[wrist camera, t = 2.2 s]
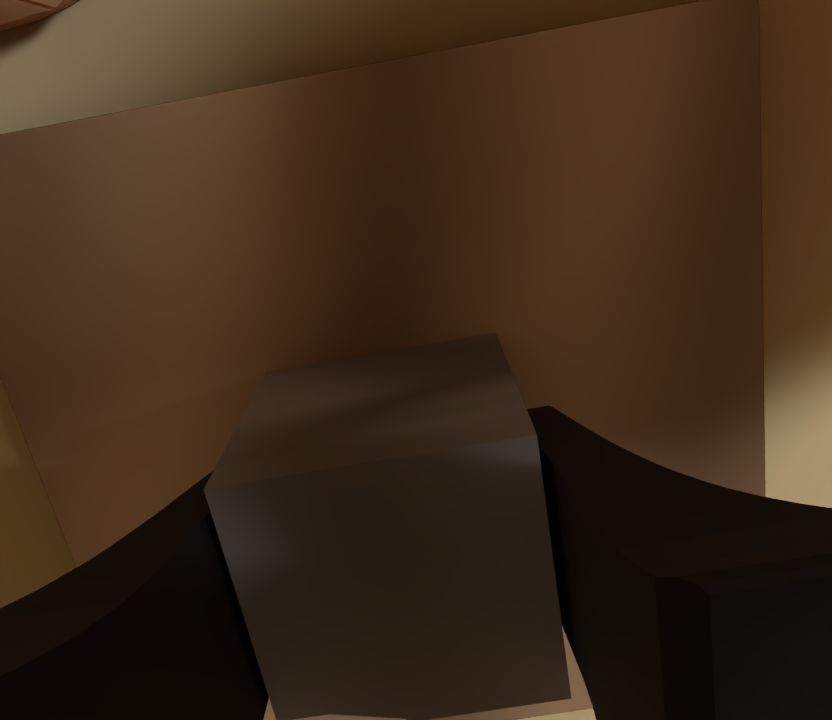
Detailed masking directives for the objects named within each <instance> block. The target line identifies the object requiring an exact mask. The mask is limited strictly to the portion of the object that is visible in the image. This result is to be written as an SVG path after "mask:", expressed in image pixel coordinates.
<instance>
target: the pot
mask: <svg viewBox="0 0 832 720" xmlns="http://www.w3.org/2000/svg"><path fill="white" fill-rule="evenodd" d="M77 1H78V0H0V31H4V30H7V29H11V28H14V27H18V26H22V25H25V24H29V23H32V22H36V21H38V20H40V19H42V18H44V17H47V16H49V15H51V14H53V13H55V12H57V11H60V10H62V9H64V8H66V7H68V6H71V5H72V4H74V3H75V2H77Z"/></svg>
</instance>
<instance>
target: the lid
mask: <svg viewBox="0 0 832 720" xmlns="http://www.w3.org/2000/svg"><path fill="white" fill-rule="evenodd" d="M0 378H1V380H2V383H3V385H4V388H5V390H6V393H7V395H8V398H9V400H10V403H11V405H12V408H13V410H14V413H15V415H16V418H17V420H18V423H19V425H20V428H21V430H22V433H23V435H24V438H25V440H26V443H27V445H28V448H29V450H30V453H31V455H32V458H33V460H34V463H35V465H36V468H37V470H38V473H39V475H40V478H41V480H42V483H43V485H44V488H45V490H46V493H47V495H48V498H49V500H50V503H51V505H52V508H53V510H54V513H55V515H56V518H57V520H58V523H59V525H60V528H61V530H62V533H63V535H64V538H65V540H66V543H67V545H68V548H69V550H70V553H71V555H72V558H73V560H74V563H75V565H76V568H77V567H79V566H80V565H82V564H84V563H85V562H87V561H88V560H90V559H92V558H93V557H95V556H96V555H98V554H99V553H101V552H102V551H104V550H106V549H107V548H109V547H110V546H111V545H113V544H114V543H116V542H117V541H119V540H120V539H121V538H123V537H124V536H126V535H127V534H128V533H130V532H131V531H133V530H134V529H135V528H137V527H138V526H140V525H141V524H143V523H144V522H145V521H147V520H148V519H150V518H151V517H152V516H154V515H155V514H157V513H158V512H159V511H161V510H162V509H163V508H164V507H166V506H167V505H168V504H170V503H171V502H172V501H174V500H175V499H176V498H178V497H179V496H180V495H181V494H183V493H184V492H185V491H187V490H188V489H189V488H191V487H192V486H193V485H194V484H196V483H197V482H198V481H200V480H201V479H202V478H204V477H205V476H206V475H208V474H209V473H210V472H212V471H213V470H214V471H213V473H212V474H211V476H210V478H209V480H208V482H207V484H206V486H205V488H204V492H205V496H206V499H207V502H208V505H209V508H210V512H211V515H212V518H213V521H214V524H215V527H216V531H217V534H218V537H219V540H220V543H221V547H222V550H223V553H224V556H225V559H226V562H227V566H228V569H229V572H230V575H231V578H232V581H233V585H234V588H235V591H236V594H237V597H238V601H239V604H240V607H241V610H242V613H243V616H244V620H245V623H246V626H247V629H248V632H249V635H250V639H251V642H252V645H253V648H254V651H255V655H256V658H257V661H258V664H259V667H260V670H261V674H262V677H263V680H264V683H265V686H266V690H267V693H268V696H269V700H268V704H267V707H266V711H265V715H264V719H263V720H294V719H301V718H308V717H315V716H321V715H328V714H338V715H355V716H373V717H391V718H403V719H407V720H516V719H522V718H529V717H536V716H543V715H550V714H557V713H563V712H570V711H577V710H584V709H591V708H593V706H592V703H591V700H590V697H589V694H588V691H587V688H586V686H585V683H584V680H583V677H582V675H581V672H580V670H579V667H578V665H577V662H576V660H575V657H574V654H573V652H572V649H571V647H570V644H569V642H568V639H567V637H566V634H565V632H564V629H563V627H562V622H561V615H560V607H559V599H558V592H557V584H556V577H555V569H554V561H553V554H552V546H551V538H550V531H549V523H548V516H547V508H546V500H545V493H544V485H543V478H542V470H541V462H540V455H539V447H538V440H537V434H536V431H535V429H534V426H533V424H532V421H531V419H530V416H529V414H528V411H527V409H531V408H537V407H543V406H551V407H553V408H555V409H557V410H558V411H560V412H561V413H563V414H565V415H566V416H568V417H569V418H571V419H573V420H574V421H576V422H578V423H579V424H581V425H583V426H584V427H586V428H588V429H589V430H591V431H593V432H594V433H596V434H598V435H600V436H601V437H603V438H605V439H607V440H609V441H610V442H612V443H614V444H616V445H618V446H620V447H622V448H624V449H626V450H628V451H630V452H632V453H634V454H636V455H638V456H641V457H643V458H645V459H647V460H649V461H651V462H654V463H656V464H658V465H661V466H663V467H666V468H668V469H671V470H674V471H676V472H679V473H682V474H685V475H688V476H691V477H694V478H697V479H699V480H702V481H705V482H709V483H712V484H715V485H719V486H722V487H726V488H730V489H734V490H738V491H742V492H746V493H750V494H755V495H759V496H763V497H765V428H764V348H763V267H762V186H761V106H760V25H759V0H704V1H698V2H693V3H688V4H683V5H677V6H672V7H667V8H662V9H656V10H651V11H646V12H641V13H635V14H630V15H625V16H620V17H614V18H609V19H604V20H599V21H594V22H588V23H583V24H578V25H573V26H567V27H562V28H557V29H552V30H546V31H541V32H536V33H531V34H525V35H520V36H515V37H510V38H504V39H499V40H494V41H489V42H483V43H478V44H473V45H468V46H462V47H457V48H452V49H447V50H441V51H436V52H431V53H426V54H420V55H415V56H410V57H405V58H399V59H394V60H389V61H384V62H378V63H373V64H368V65H363V66H357V67H352V68H347V69H342V70H337V71H331V72H326V73H321V74H316V75H310V76H305V77H300V78H295V79H289V80H284V81H279V82H274V83H268V84H263V85H258V86H253V87H247V88H242V89H237V90H232V91H226V92H221V93H216V94H211V95H205V96H200V97H195V98H190V99H184V100H179V101H174V102H169V103H163V104H158V105H153V106H148V107H142V108H137V109H132V110H127V111H121V112H116V113H111V114H106V115H100V116H95V117H90V118H85V119H79V120H74V121H69V122H64V123H59V124H53V125H48V126H43V127H38V128H32V129H27V130H22V131H17V132H11V133H6V134H1V135H0Z"/></svg>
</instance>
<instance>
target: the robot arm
mask: <svg viewBox="0 0 832 720" xmlns="http://www.w3.org/2000/svg"><path fill="white" fill-rule="evenodd" d="M527 411H528V414H529V416H530V419H531V421H532V424H533V426H534V429H535V431H536V434H537V440H538V447H539V455H540V462H541V470H542V478H543V485H544V493H545V500H546V508H547V516H548V523H549V531H550V538H551V546H552V554H553V561H554V569H555V577H556V584H557V592H558V599H559V607H560V615H561V622H562V627H563V629H564V632H565V634H566V637H567V639H568V642H569V644H570V647H571V649H572V652H573V654H574V657H575V660H576V662H577V665H578V667H579V670H580V672H581V675H582V677H583V680H584V683H585V686H586V688H587V691H588V694H589V697H590V700H591V703H592V706H593V709H594V713H595V716H596V720H832V508H826V507H819V506H812V505H805V504H799V503H793V502H788V501H783V500H777V499H772V498H767V497H763V496H759V495H755V494H750V493H746V492H742V491H738V490H734V489H730V488H726V487H722V486H719V485H715V484H712V483H709V482H705V481H702V480H699V479H697V478H694V477H691V476H688V475H685V474H682V473H679V472H676V471H674V470H671V469H668V468H666V467H663V466H661V465H658V464H656V463H654V462H651V461H649V460H647V459H645V458H643V457H641V456H638V455H636V454H634V453H632V452H630V451H628V450H626V449H624V448H622V447H620V446H618V445H616V444H614V443H612V442H610V441H609V440H607V439H605V438H603V437H601V436H600V435H598V434H596V433H594V432H593V431H591V430H589V429H588V428H586V427H584V426H583V425H581V424H579V423H578V422H576V421H574V420H573V419H571V418H569V417H568V416H566V415H565V414H563V413H561V412H560V411H558V410H557V409H555V408H553V407H551V406H543V407H537V408H531V409H527ZM213 471H214V470H213ZM213 471H212V472H210V473H209V474H208V475H206V476H205V477H204V478H202V479H201V480H200V481H198V482H197V483H196V484H194V485H193V486H192V487H191V488H189V489H188V490H187V491H185V492H184V493H183V494H181V495H180V496H179V497H178V498H176V499H175V500H174V501H172V502H171V503H170V504H168V505H167V506H166V507H164V508H163V509H162V510H161V511H159V512H158V513H157V514H155V515H154V516H152V517H151V518H150V519H148V520H147V521H145V522H144V523H143V524H141V525H140V526H138V527H137V528H135V529H134V530H133V531H131V532H130V533H128V534H127V535H126V536H124V537H123V538H121V539H120V540H119V541H117V542H116V543H114V544H113V545H111V546H110V547H109V548H107V549H106V550H104V551H102V552H101V553H99V554H98V555H96V556H95V557H93V558H92V559H90V560H88V561H87V562H85V563H84V564H82V565H80V566H79V567H77V568H75V569H74V570H72V571H70V572H68V573H67V574H65V575H63V576H62V577H60V578H58V579H56V580H55V581H53V582H51V583H49V584H48V585H46V586H44V587H42V588H40V589H39V590H37V591H35V592H33V593H31V594H29V595H27V596H25V597H23V598H21V599H19V600H17V601H15V602H13V603H11V604H9V605H7V606H5V607H3V608H1V609H0V720H263V719H264V715H265V711H266V707H267V704H268V700H269V696H268V693H267V690H266V686H265V683H264V680H263V677H262V674H261V670H260V667H259V664H258V661H257V658H256V655H255V651H254V648H253V645H252V642H251V639H250V635H249V632H248V629H247V626H246V623H245V620H244V616H243V613H242V610H241V607H240V604H239V601H238V597H237V594H236V591H235V588H234V585H233V581H232V578H231V575H230V572H229V569H228V566H227V562H226V559H225V556H224V553H223V550H222V547H221V543H220V540H219V537H218V534H217V531H216V527H215V524H214V521H213V518H212V515H211V512H210V508H209V505H208V502H207V499H206V496H205V492H204V488H205V486H206V484H207V482H208V480H209V478H210V476H211V474H212V473H213ZM294 720H407V719H403V718H391V717H373V716H355V715H338V714H328V715H321V716H315V717H308V718H301V719H294Z"/></svg>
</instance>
